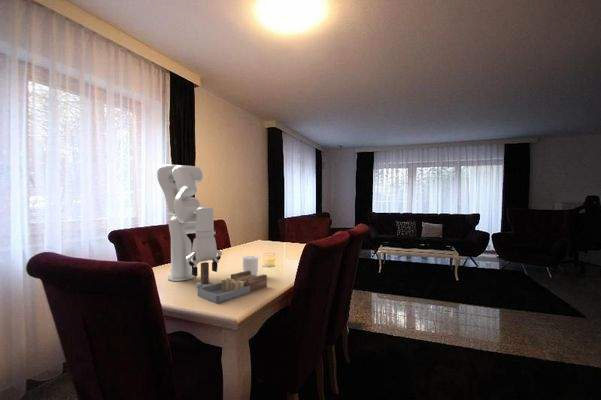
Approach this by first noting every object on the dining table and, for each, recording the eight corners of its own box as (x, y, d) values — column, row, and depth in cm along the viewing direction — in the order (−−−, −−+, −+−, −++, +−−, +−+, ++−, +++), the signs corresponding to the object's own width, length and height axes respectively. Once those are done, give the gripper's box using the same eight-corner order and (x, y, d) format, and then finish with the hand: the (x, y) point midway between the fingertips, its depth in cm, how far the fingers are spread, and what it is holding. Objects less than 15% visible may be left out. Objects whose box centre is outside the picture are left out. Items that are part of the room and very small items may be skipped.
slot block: (230, 286, 129) (230, 274, 129) (248, 281, 137) (248, 270, 137) (249, 292, 121) (249, 279, 121) (266, 287, 129) (266, 275, 129)
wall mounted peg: (196, 288, 128) (196, 262, 128) (204, 286, 131) (204, 261, 131) (204, 291, 123) (204, 265, 123) (213, 289, 126) (212, 263, 126)
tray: (197, 295, 117) (197, 288, 117) (230, 286, 130) (230, 280, 130) (217, 303, 108) (217, 296, 108) (250, 293, 121) (250, 286, 121)
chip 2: (238, 289, 124) (230, 291, 121) (238, 280, 124) (230, 282, 121) (243, 291, 122) (236, 293, 119) (243, 281, 122) (236, 283, 119)
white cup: (240, 276, 147) (240, 257, 147) (255, 274, 150) (255, 255, 150) (245, 280, 140) (244, 259, 140) (260, 278, 143) (260, 258, 143)
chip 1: (229, 287, 127) (221, 289, 124) (229, 278, 127) (221, 280, 124) (234, 288, 125) (227, 291, 122) (234, 279, 125) (227, 281, 122)
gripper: (216, 232, 136) (217, 268, 136) (181, 236, 122) (182, 276, 122) (226, 233, 131) (226, 271, 131) (190, 237, 118) (191, 279, 118)
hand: (204, 273), depth 127 cm, fingers open, 9 cm apart
